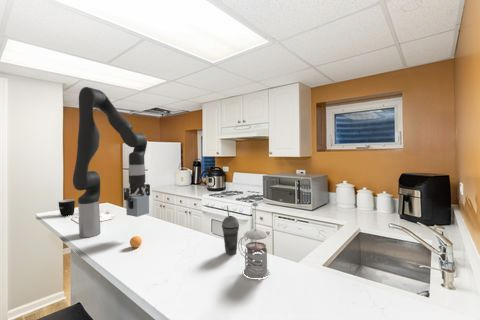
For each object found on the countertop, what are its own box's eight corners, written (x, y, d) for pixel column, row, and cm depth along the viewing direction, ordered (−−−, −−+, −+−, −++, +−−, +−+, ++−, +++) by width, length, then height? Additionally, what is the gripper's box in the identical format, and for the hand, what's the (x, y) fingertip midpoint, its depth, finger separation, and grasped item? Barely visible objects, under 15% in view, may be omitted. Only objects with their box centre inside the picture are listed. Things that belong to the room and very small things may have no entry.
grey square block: (126, 214, 117) (126, 197, 117) (138, 211, 124) (138, 194, 123) (137, 216, 114) (136, 198, 114) (149, 213, 121) (148, 195, 120)
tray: (82, 227, 141) (81, 220, 141) (68, 220, 159) (68, 214, 159) (118, 218, 157) (118, 213, 157) (101, 213, 175) (101, 208, 175)
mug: (57, 215, 164) (56, 201, 164) (72, 212, 172) (71, 198, 171) (64, 218, 157) (63, 203, 157) (79, 215, 165) (78, 200, 164)
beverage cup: (237, 257, 97) (236, 208, 96) (220, 256, 98) (219, 207, 97) (241, 249, 104) (240, 204, 103) (224, 248, 105) (223, 203, 104)
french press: (262, 283, 78) (261, 207, 77) (232, 274, 84) (231, 203, 83) (274, 270, 86) (274, 201, 85) (246, 262, 92) (245, 197, 91)
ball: (127, 248, 108) (127, 237, 108) (136, 244, 112) (136, 233, 112) (135, 250, 106) (134, 239, 105) (144, 246, 110) (144, 235, 110)
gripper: (143, 172, 126) (143, 203, 127) (118, 174, 113) (119, 209, 114) (153, 172, 123) (154, 204, 124) (129, 175, 110) (130, 211, 111)
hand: (137, 206), depth 119 cm, fingers closed on grey square block, 7 cm apart
